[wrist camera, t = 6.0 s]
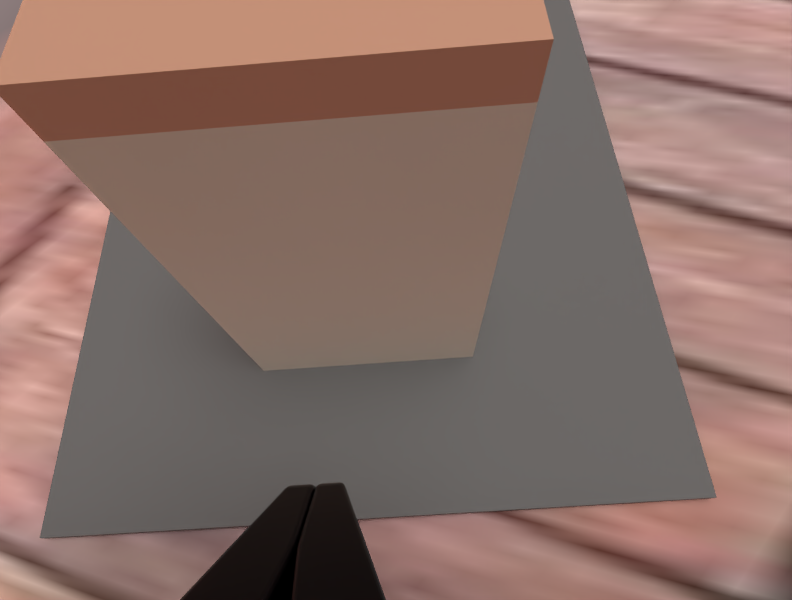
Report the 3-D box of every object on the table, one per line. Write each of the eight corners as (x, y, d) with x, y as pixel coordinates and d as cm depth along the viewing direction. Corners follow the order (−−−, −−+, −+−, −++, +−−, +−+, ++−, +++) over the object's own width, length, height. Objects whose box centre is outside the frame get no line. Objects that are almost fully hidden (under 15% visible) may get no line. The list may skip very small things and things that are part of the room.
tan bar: (472, 356, 17) (554, 39, 6) (263, 370, 17) (-10, 85, 6) (461, 264, 19) (511, -123, 8) (268, 278, 19) (53, -81, 8)
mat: (709, 498, 15) (716, 497, 15) (48, 538, 16) (39, 538, 15) (551, -47, 26) (553, -55, 26) (164, -13, 27) (160, -21, 26)
